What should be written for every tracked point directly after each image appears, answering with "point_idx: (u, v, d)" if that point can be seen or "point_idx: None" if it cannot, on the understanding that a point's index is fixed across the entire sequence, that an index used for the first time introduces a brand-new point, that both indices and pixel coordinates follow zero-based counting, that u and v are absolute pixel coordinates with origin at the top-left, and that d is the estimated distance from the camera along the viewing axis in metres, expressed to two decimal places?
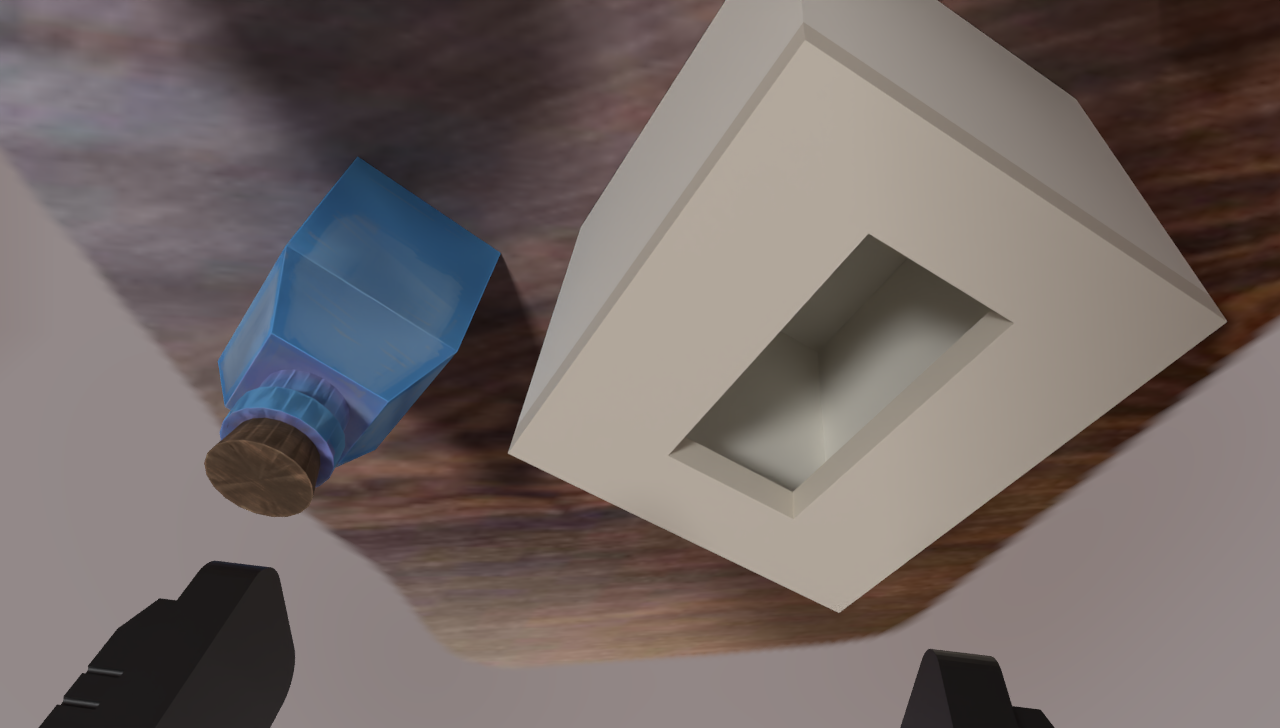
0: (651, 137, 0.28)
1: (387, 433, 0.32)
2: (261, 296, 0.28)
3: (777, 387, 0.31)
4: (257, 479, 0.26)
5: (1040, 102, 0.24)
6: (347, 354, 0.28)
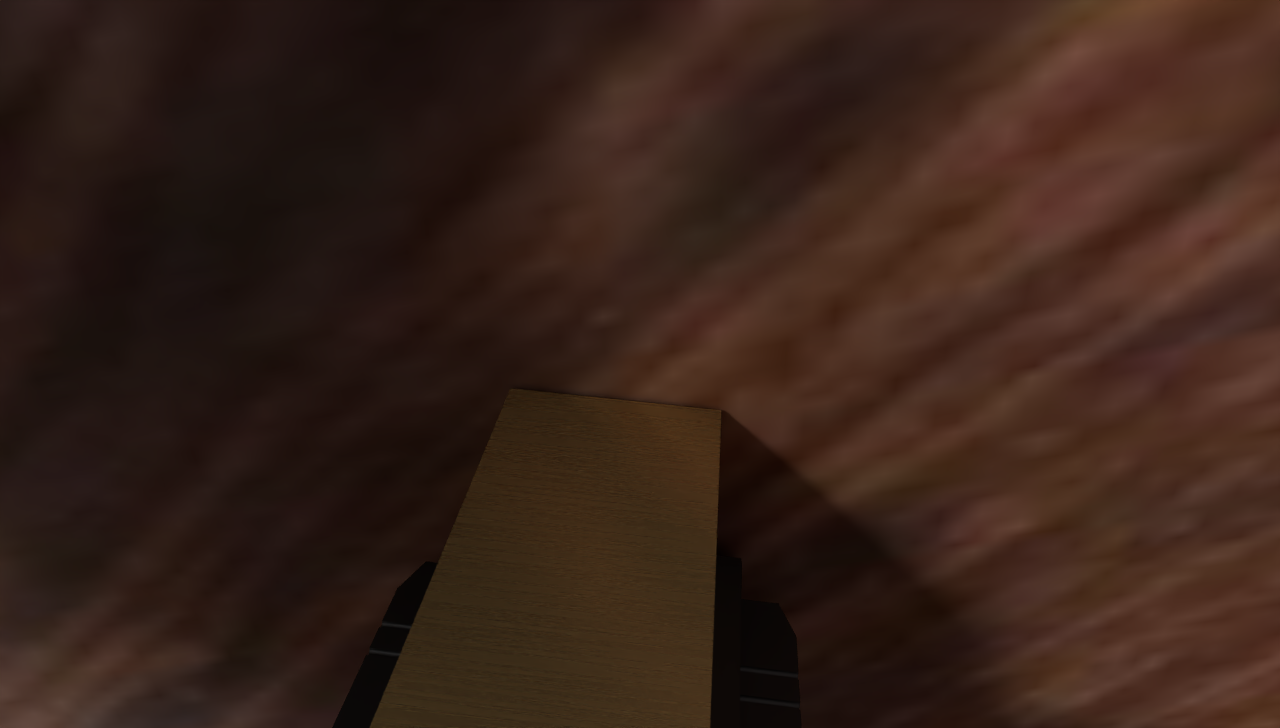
0: None
1: None
2: None
3: None
4: None
5: None
6: None
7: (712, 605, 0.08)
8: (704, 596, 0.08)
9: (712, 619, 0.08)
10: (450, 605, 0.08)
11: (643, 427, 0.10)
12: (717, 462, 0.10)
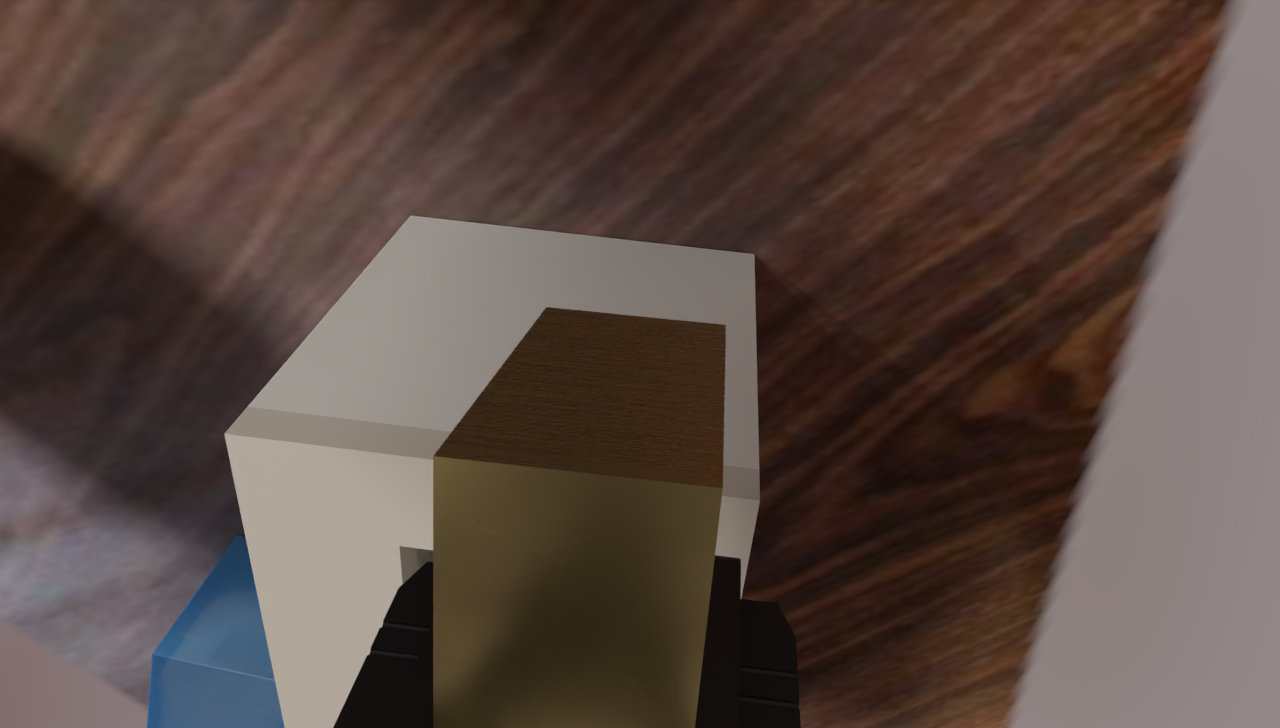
0: None
1: None
2: None
3: None
4: None
5: (657, 300, 0.25)
6: None
7: (722, 405, 0.09)
8: (716, 402, 0.09)
9: (723, 413, 0.09)
10: (505, 395, 0.09)
11: (660, 329, 0.12)
12: (724, 347, 0.11)
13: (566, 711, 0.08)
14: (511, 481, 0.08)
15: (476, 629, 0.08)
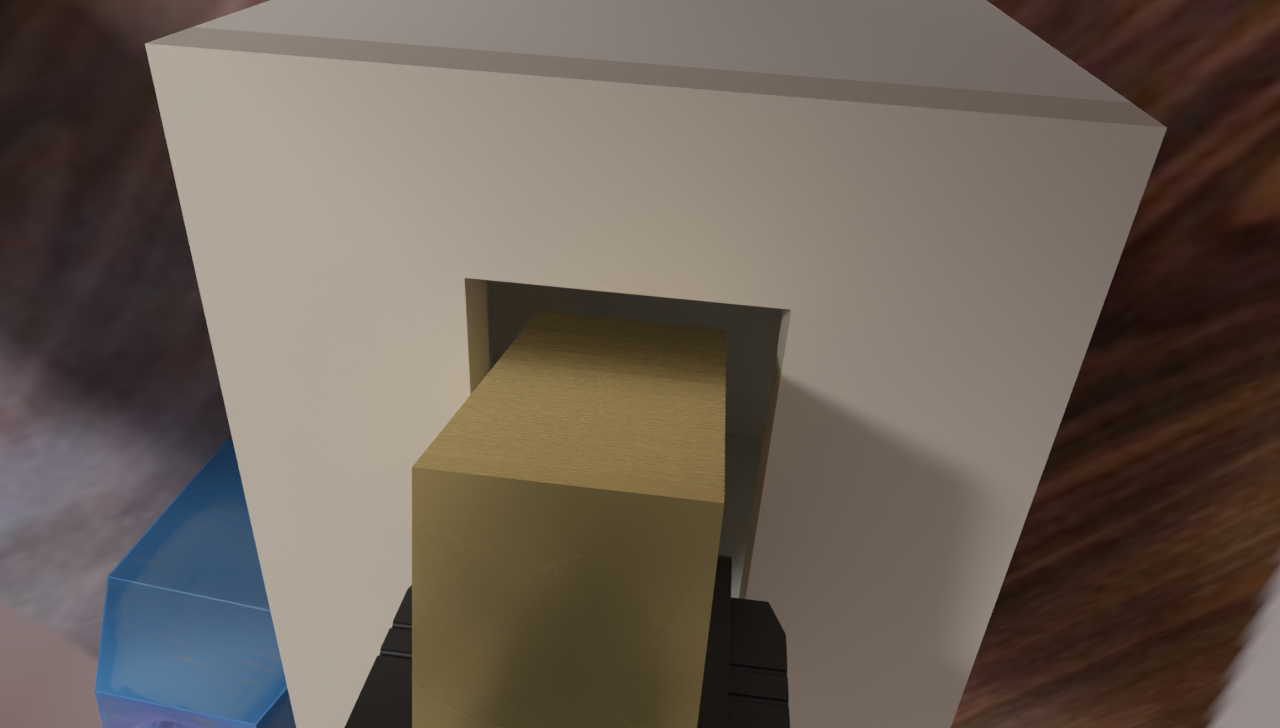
0: None
1: None
2: None
3: None
4: None
5: None
6: (196, 682, 0.22)
7: (723, 414, 0.09)
8: (716, 410, 0.09)
9: (723, 421, 0.09)
10: (491, 402, 0.09)
11: (657, 333, 0.11)
12: (724, 353, 0.11)
13: None
14: (496, 494, 0.07)
15: (458, 654, 0.08)
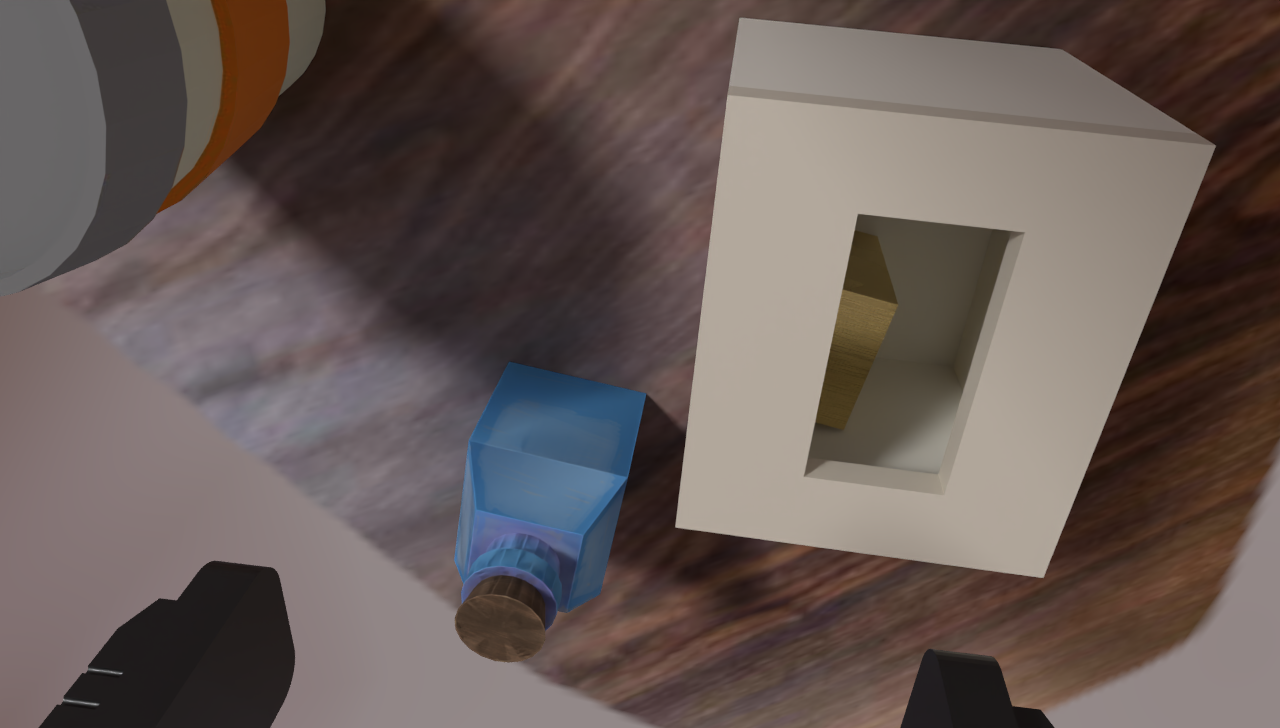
0: None
1: (603, 574, 0.36)
2: (465, 489, 0.35)
3: (917, 406, 0.33)
4: (498, 629, 0.30)
5: (1006, 63, 0.27)
6: (539, 508, 0.33)
7: (863, 384, 0.30)
8: (862, 381, 0.30)
9: (861, 387, 0.30)
10: None
11: (866, 311, 0.29)
12: (886, 330, 0.29)
13: None
14: None
15: None
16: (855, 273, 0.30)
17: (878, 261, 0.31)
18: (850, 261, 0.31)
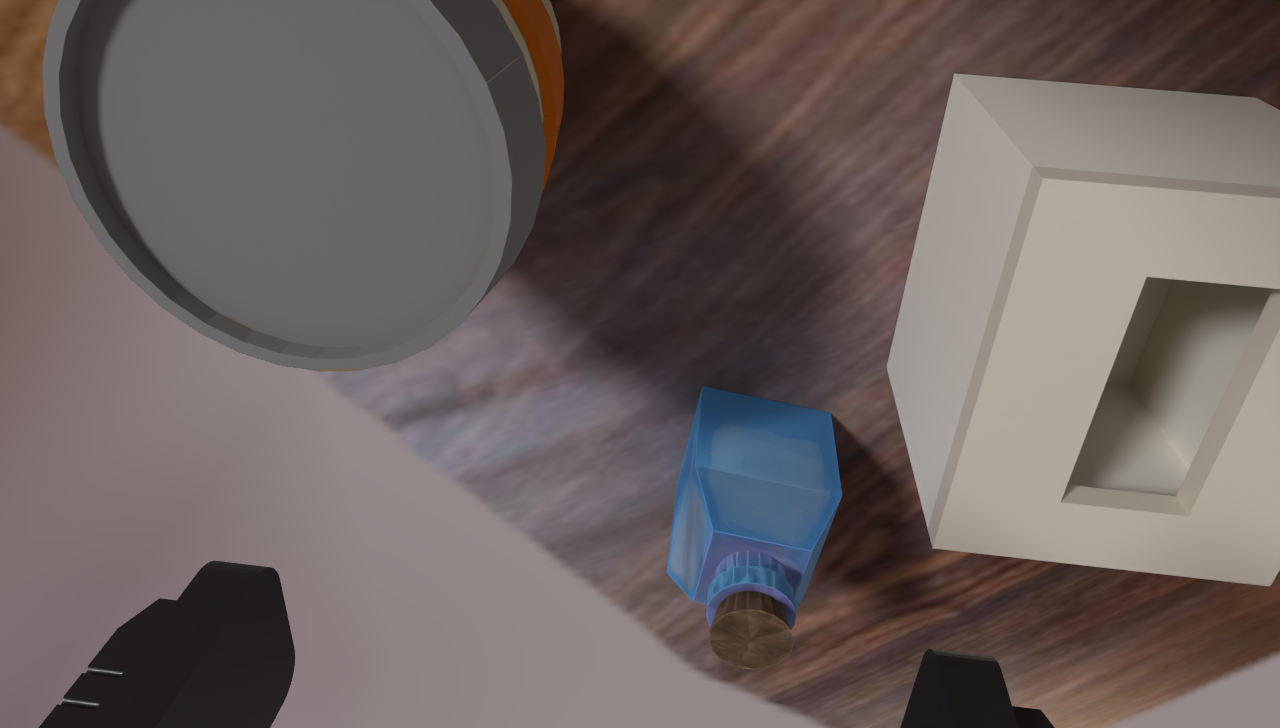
0: (923, 278, 0.35)
1: (808, 583, 0.39)
2: (688, 510, 0.38)
3: (1112, 425, 0.36)
4: (749, 640, 0.33)
5: (1227, 120, 0.30)
6: (769, 527, 0.36)
7: None
8: None
9: None
10: None
11: None
12: None
13: None
14: None
15: None
16: None
17: None
18: None
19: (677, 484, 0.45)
